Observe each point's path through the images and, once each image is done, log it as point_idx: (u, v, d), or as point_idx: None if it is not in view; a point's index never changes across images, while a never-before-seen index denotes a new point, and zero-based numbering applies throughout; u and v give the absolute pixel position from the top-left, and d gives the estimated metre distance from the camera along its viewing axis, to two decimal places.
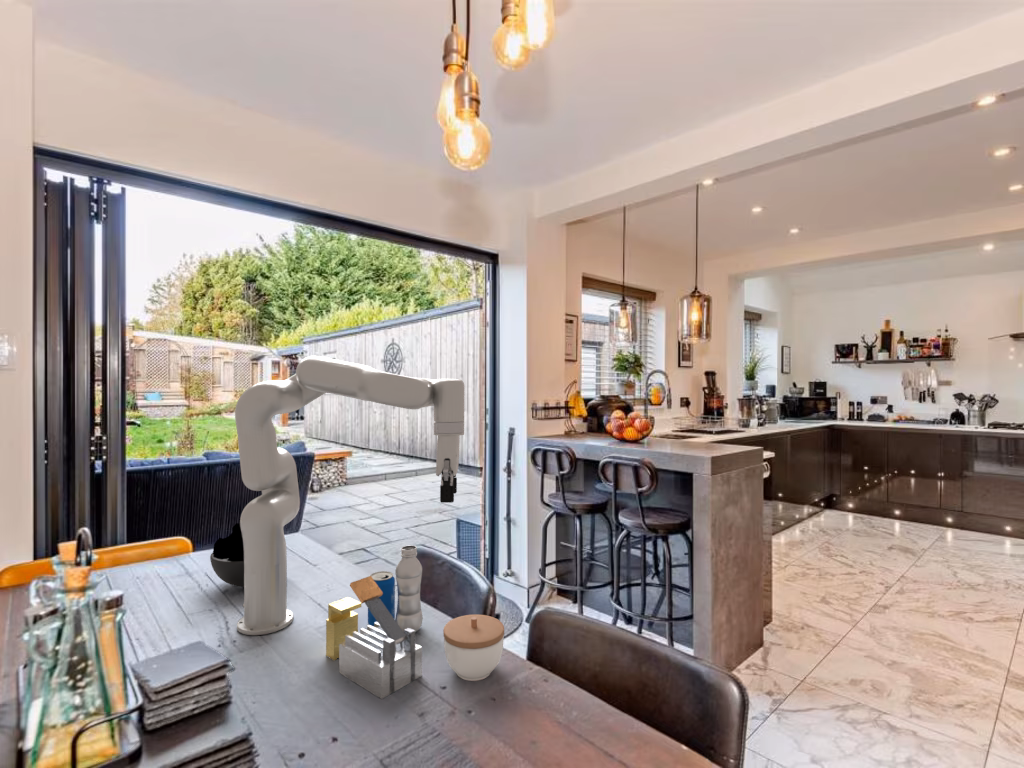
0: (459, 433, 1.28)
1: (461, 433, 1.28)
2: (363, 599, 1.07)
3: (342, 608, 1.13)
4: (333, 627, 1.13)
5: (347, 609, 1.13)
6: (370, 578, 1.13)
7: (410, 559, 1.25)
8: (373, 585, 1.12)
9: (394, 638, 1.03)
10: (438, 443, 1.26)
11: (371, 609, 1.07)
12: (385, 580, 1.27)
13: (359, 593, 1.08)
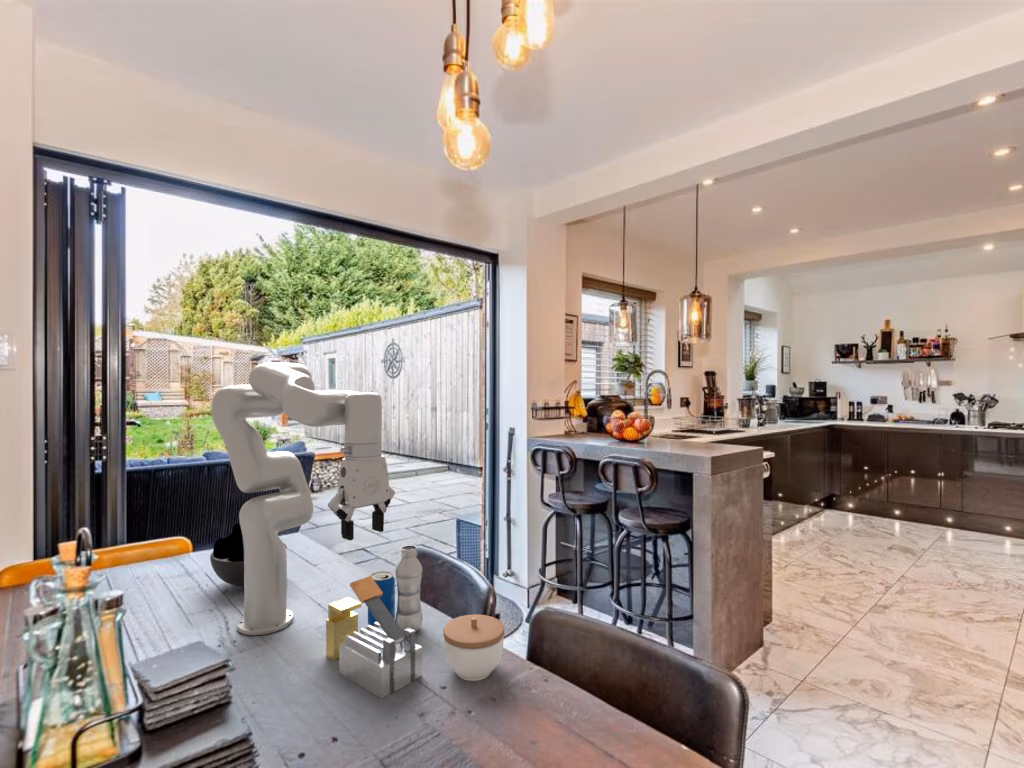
0: None
1: None
2: (363, 599, 1.07)
3: (342, 608, 1.13)
4: (333, 627, 1.13)
5: (347, 609, 1.13)
6: (370, 578, 1.13)
7: (410, 559, 1.25)
8: (373, 585, 1.12)
9: (394, 638, 1.03)
10: (386, 464, 1.13)
11: (371, 609, 1.07)
12: (385, 580, 1.27)
13: (359, 593, 1.08)
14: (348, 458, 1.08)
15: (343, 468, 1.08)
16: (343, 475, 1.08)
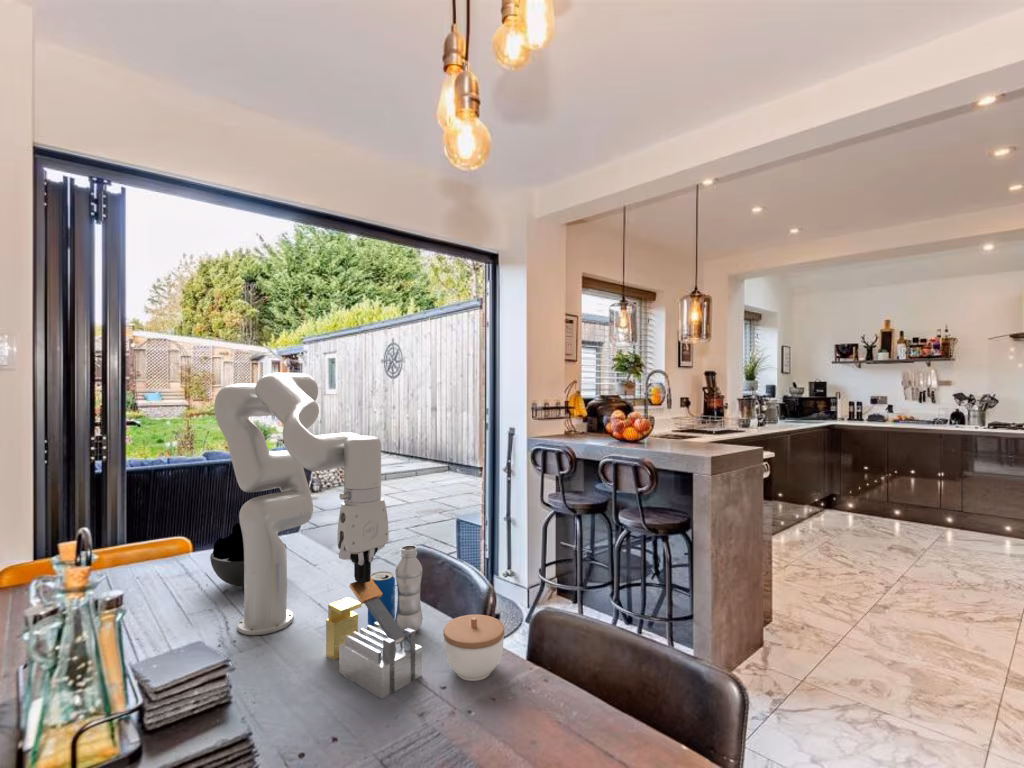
0: None
1: None
2: (363, 600, 1.07)
3: (342, 608, 1.13)
4: (333, 627, 1.13)
5: (347, 609, 1.13)
6: (370, 579, 1.13)
7: (410, 559, 1.25)
8: (373, 586, 1.12)
9: (394, 638, 1.03)
10: (385, 507, 1.13)
11: (371, 609, 1.07)
12: (385, 580, 1.27)
13: (359, 594, 1.08)
14: (347, 503, 1.08)
15: (342, 513, 1.08)
16: (342, 520, 1.08)
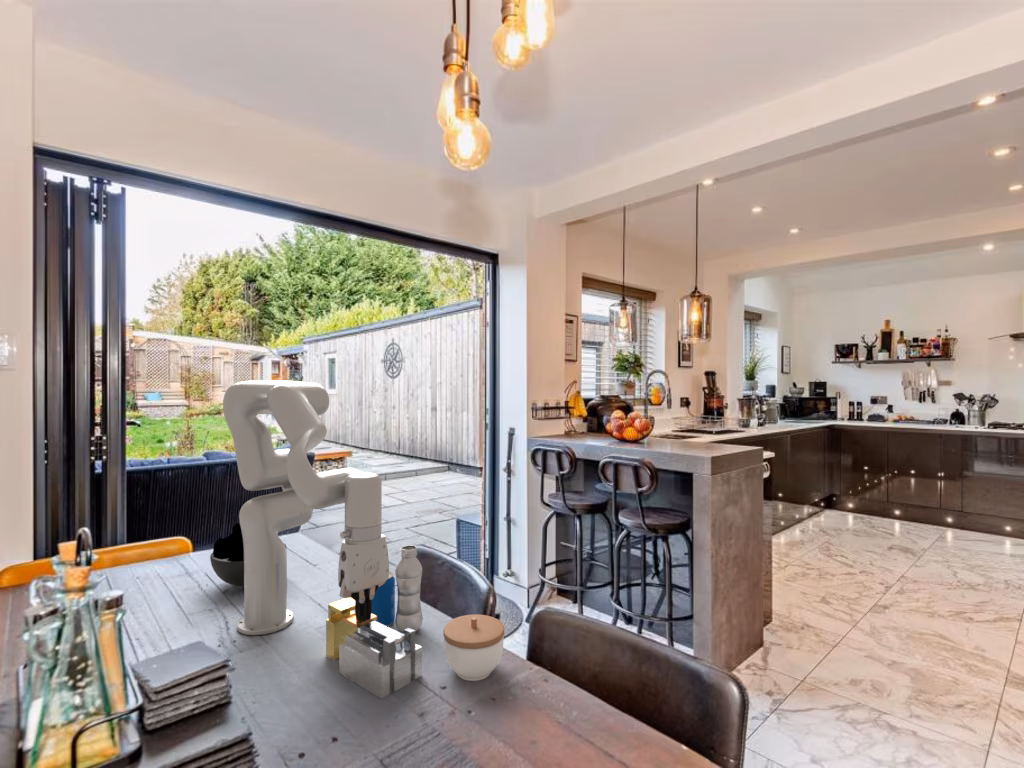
0: None
1: None
2: (357, 623, 1.09)
3: (342, 608, 1.13)
4: (333, 627, 1.13)
5: (347, 609, 1.13)
6: None
7: (410, 559, 1.25)
8: None
9: (393, 638, 1.03)
10: (386, 543, 1.13)
11: (367, 629, 1.08)
12: None
13: (352, 621, 1.10)
14: (348, 542, 1.08)
15: (343, 551, 1.08)
16: (343, 559, 1.08)
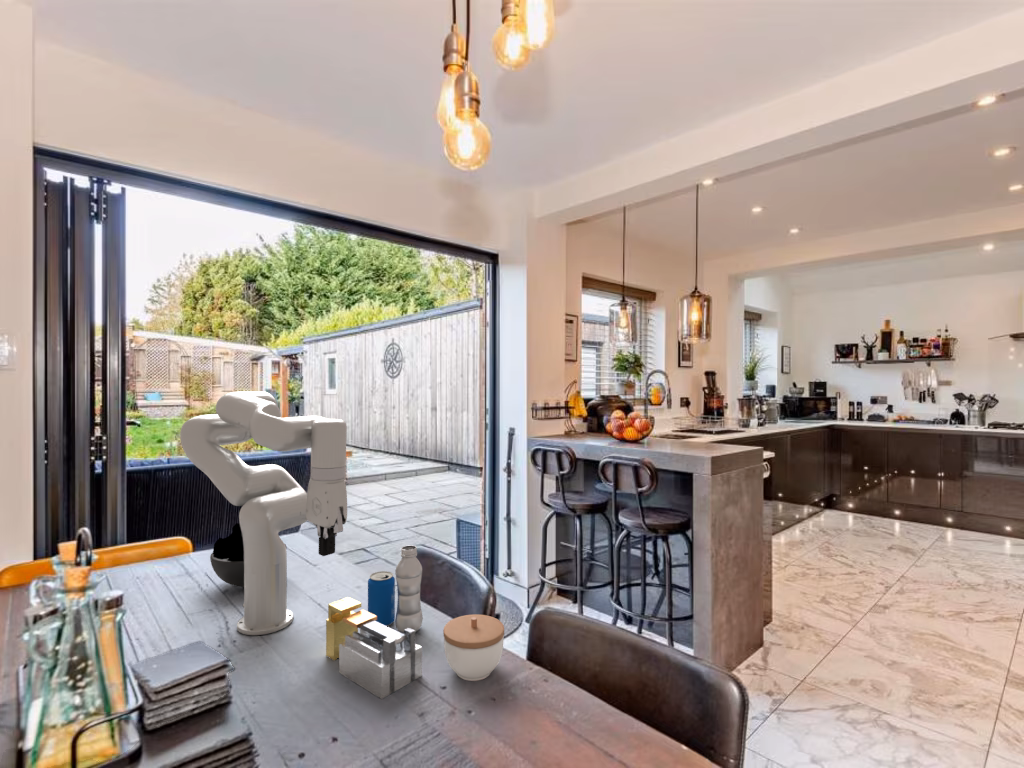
0: (345, 477, 1.20)
1: (345, 477, 1.20)
2: (357, 623, 1.09)
3: (342, 608, 1.13)
4: (333, 627, 1.13)
5: (347, 609, 1.13)
6: (363, 610, 1.15)
7: (410, 559, 1.25)
8: (366, 613, 1.13)
9: (393, 638, 1.03)
10: (330, 492, 1.15)
11: (367, 629, 1.08)
12: (385, 580, 1.27)
13: (352, 621, 1.10)
14: None
15: None
16: None
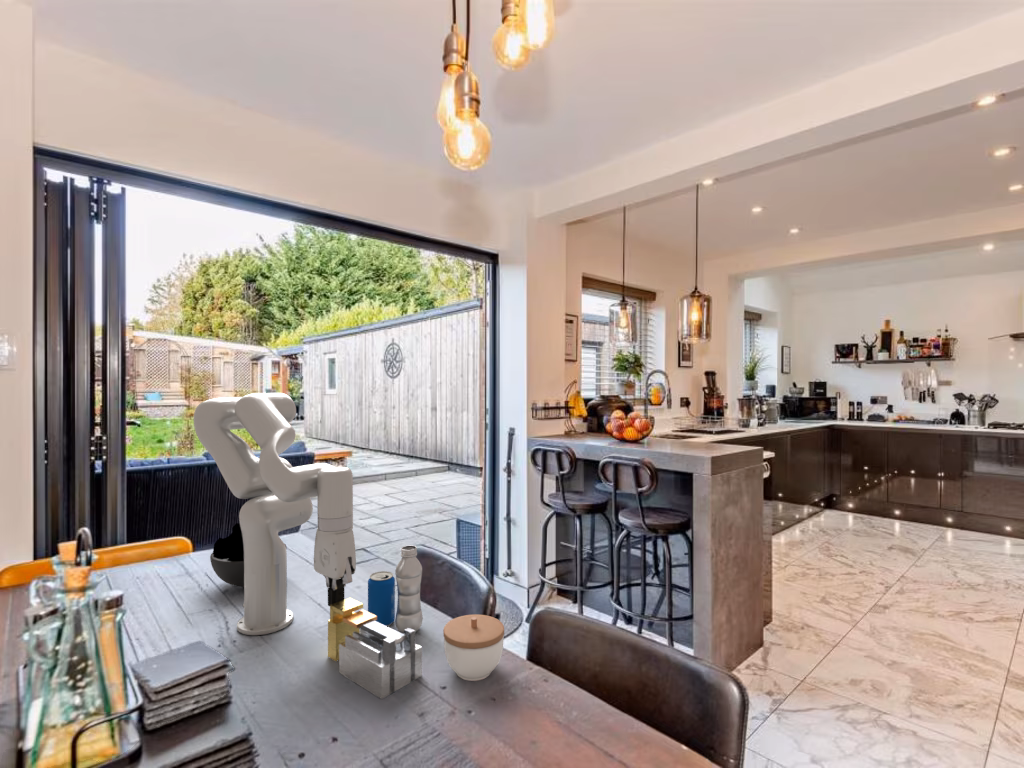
0: (352, 526, 1.18)
1: None
2: (357, 623, 1.09)
3: (344, 609, 1.12)
4: (335, 628, 1.12)
5: (348, 610, 1.12)
6: (363, 610, 1.15)
7: (410, 559, 1.25)
8: (366, 613, 1.13)
9: (393, 638, 1.03)
10: (338, 542, 1.13)
11: (367, 629, 1.08)
12: (385, 580, 1.27)
13: (352, 621, 1.10)
14: None
15: None
16: None
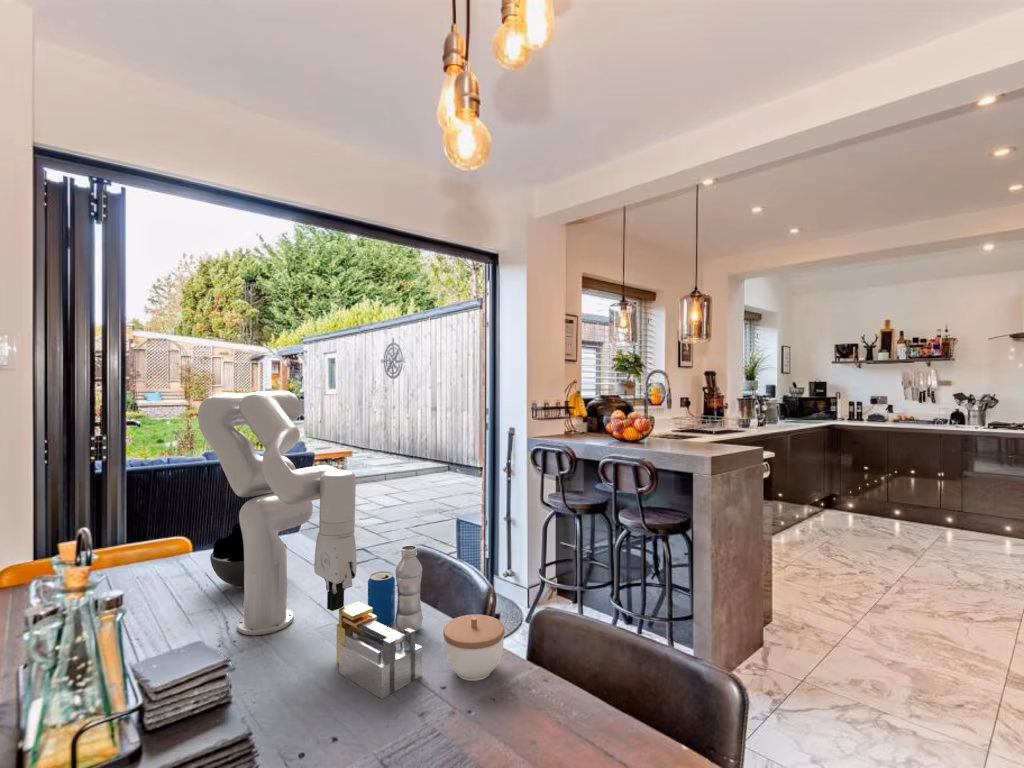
0: (354, 530, 1.18)
1: (354, 529, 1.18)
2: (357, 623, 1.09)
3: (353, 613, 1.10)
4: (344, 633, 1.10)
5: (358, 614, 1.10)
6: None
7: (410, 559, 1.25)
8: None
9: (393, 638, 1.03)
10: (339, 547, 1.13)
11: (367, 629, 1.08)
12: (385, 580, 1.27)
13: (352, 621, 1.10)
14: None
15: None
16: None
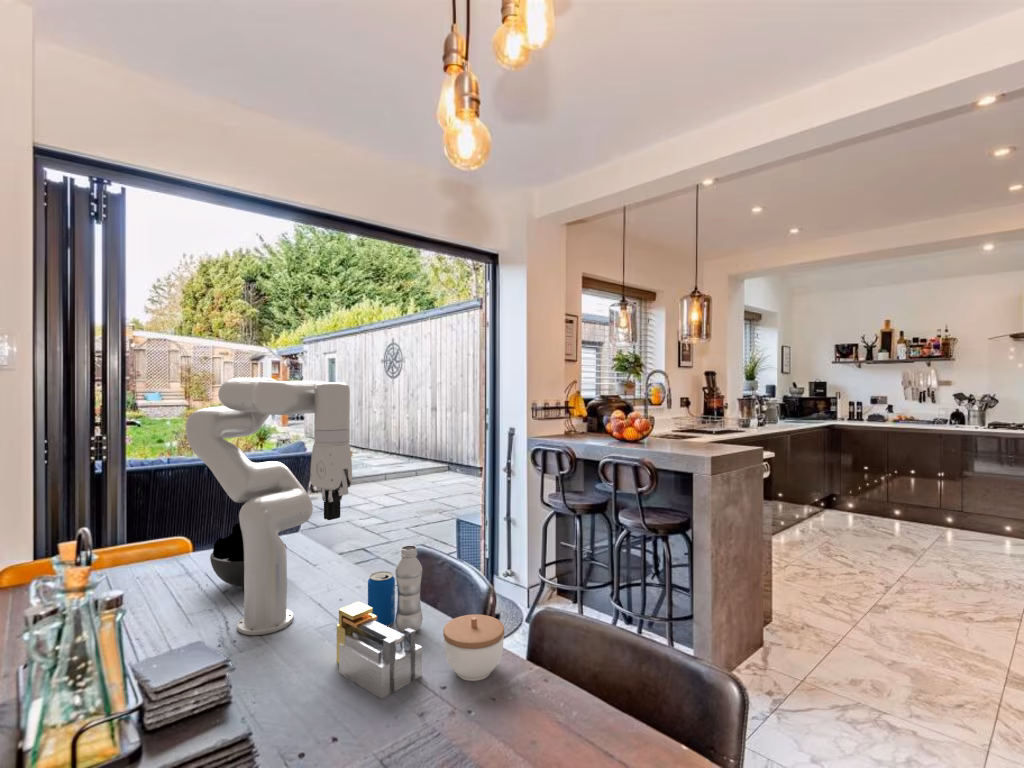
0: (349, 440, 1.19)
1: (349, 440, 1.19)
2: (357, 623, 1.09)
3: (353, 613, 1.10)
4: (344, 633, 1.10)
5: (358, 614, 1.10)
6: None
7: (410, 559, 1.25)
8: None
9: (393, 638, 1.03)
10: (334, 453, 1.14)
11: (367, 629, 1.08)
12: (385, 580, 1.27)
13: (352, 621, 1.10)
14: None
15: None
16: None
